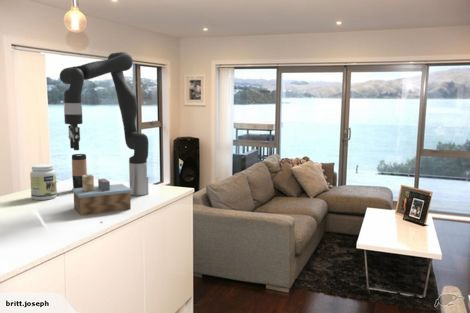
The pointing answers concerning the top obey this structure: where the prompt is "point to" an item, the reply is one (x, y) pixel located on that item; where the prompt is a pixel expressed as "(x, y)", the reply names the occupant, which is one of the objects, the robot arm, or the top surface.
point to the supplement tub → (43, 182)
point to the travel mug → (78, 169)
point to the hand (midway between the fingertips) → (74, 149)
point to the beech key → (88, 183)
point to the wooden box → (102, 203)
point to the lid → (102, 189)
